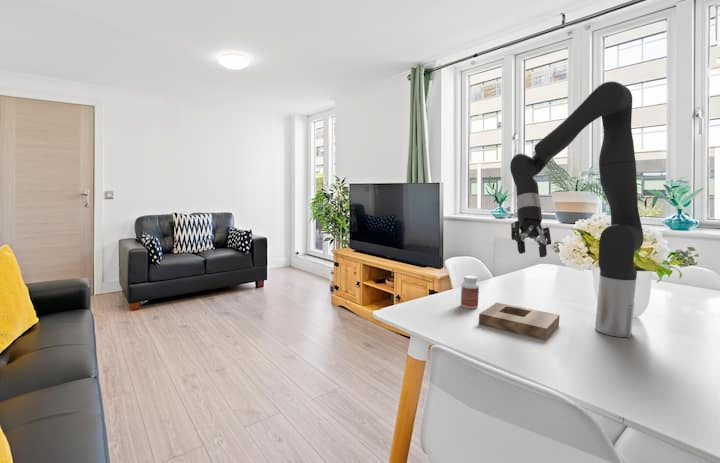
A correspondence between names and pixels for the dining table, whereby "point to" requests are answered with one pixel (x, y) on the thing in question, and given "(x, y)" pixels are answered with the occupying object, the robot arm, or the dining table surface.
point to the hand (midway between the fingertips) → (532, 255)
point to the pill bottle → (469, 292)
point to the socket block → (520, 320)
